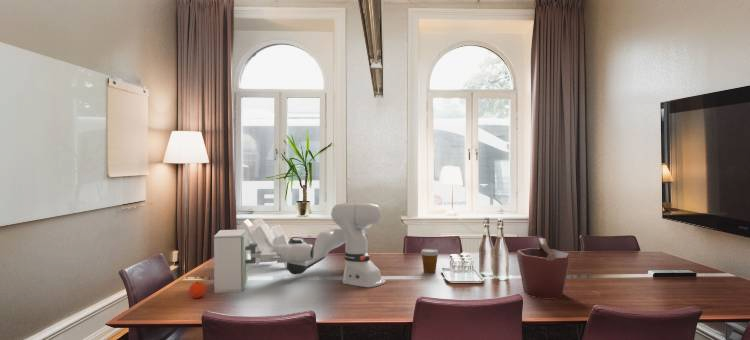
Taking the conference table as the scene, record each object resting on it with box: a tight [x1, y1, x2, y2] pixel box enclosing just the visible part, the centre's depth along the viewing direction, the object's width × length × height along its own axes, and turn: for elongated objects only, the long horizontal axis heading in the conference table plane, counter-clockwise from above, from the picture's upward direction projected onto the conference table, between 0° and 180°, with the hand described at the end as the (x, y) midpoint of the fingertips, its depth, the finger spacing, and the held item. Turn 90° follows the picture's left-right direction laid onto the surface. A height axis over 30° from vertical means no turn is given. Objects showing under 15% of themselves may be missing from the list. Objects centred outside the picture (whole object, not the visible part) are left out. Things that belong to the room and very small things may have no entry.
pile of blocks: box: [239, 217, 290, 268], centre depth 253 cm, size 35×30×35 cm
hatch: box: [242, 230, 257, 291], centre depth 210 cm, size 6×19×25 cm, turn 11°
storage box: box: [213, 229, 245, 294], centre depth 208 cm, size 12×18×26 cm, turn 11°
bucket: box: [516, 237, 571, 299], centre depth 198 cm, size 24×22×25 cm
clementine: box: [188, 281, 208, 299], centre depth 192 cm, size 8×7×7 cm
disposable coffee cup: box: [420, 248, 439, 274], centre depth 236 cm, size 10×10×12 cm
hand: (251, 254), depth 210 cm, fingers closed on hatch, 2 cm apart
